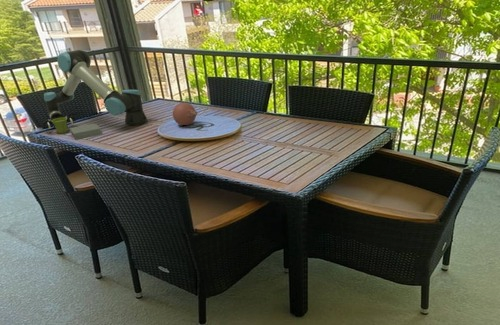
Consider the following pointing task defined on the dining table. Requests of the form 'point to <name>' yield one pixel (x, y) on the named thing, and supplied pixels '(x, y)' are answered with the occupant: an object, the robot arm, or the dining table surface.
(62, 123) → the plant pot
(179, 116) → the brown egg-shaped ball
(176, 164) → the dining table surface
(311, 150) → the dining table surface
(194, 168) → the dining table surface
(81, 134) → the block
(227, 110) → the dining table surface
